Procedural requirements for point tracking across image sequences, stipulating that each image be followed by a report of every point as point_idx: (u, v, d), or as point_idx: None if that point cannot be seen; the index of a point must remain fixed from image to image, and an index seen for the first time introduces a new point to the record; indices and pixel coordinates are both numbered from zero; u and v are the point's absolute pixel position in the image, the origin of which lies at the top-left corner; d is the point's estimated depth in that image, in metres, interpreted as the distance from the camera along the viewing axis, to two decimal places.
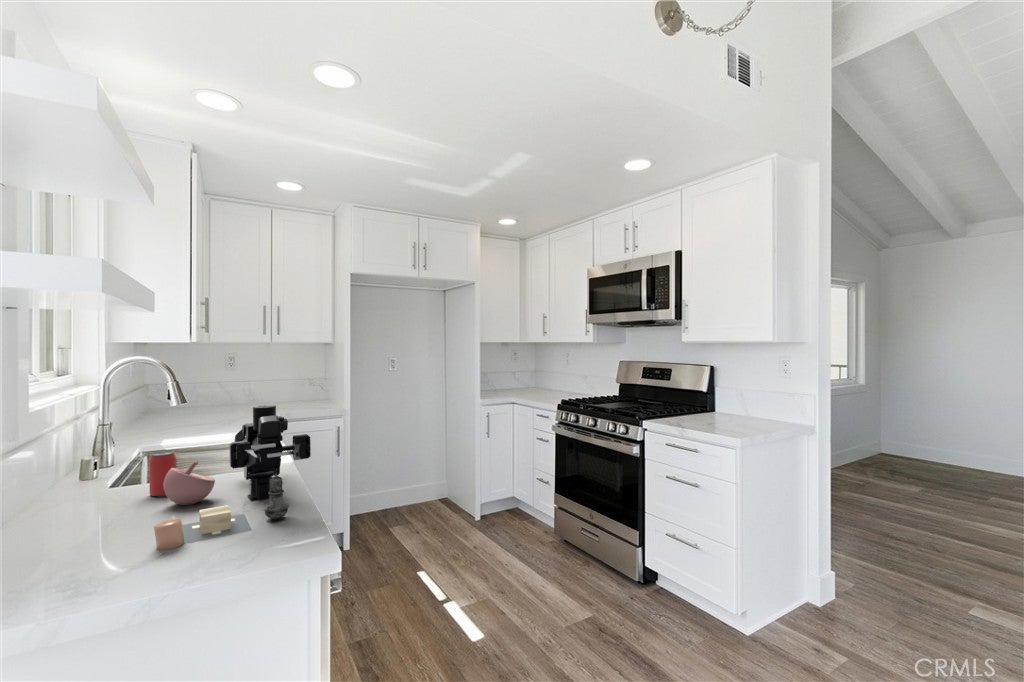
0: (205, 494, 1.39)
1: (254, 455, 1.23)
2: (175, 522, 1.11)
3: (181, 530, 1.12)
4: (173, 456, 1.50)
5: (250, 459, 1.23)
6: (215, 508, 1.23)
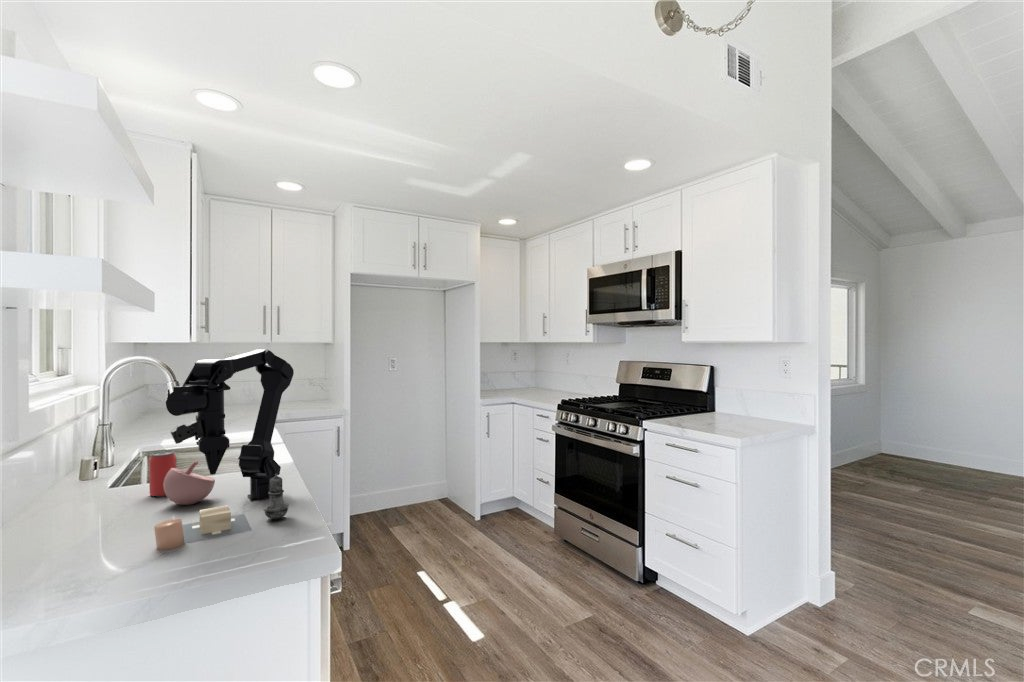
0: (205, 494, 1.39)
1: None
2: (176, 523, 1.11)
3: (181, 530, 1.12)
4: (173, 456, 1.50)
5: None
6: (215, 508, 1.23)
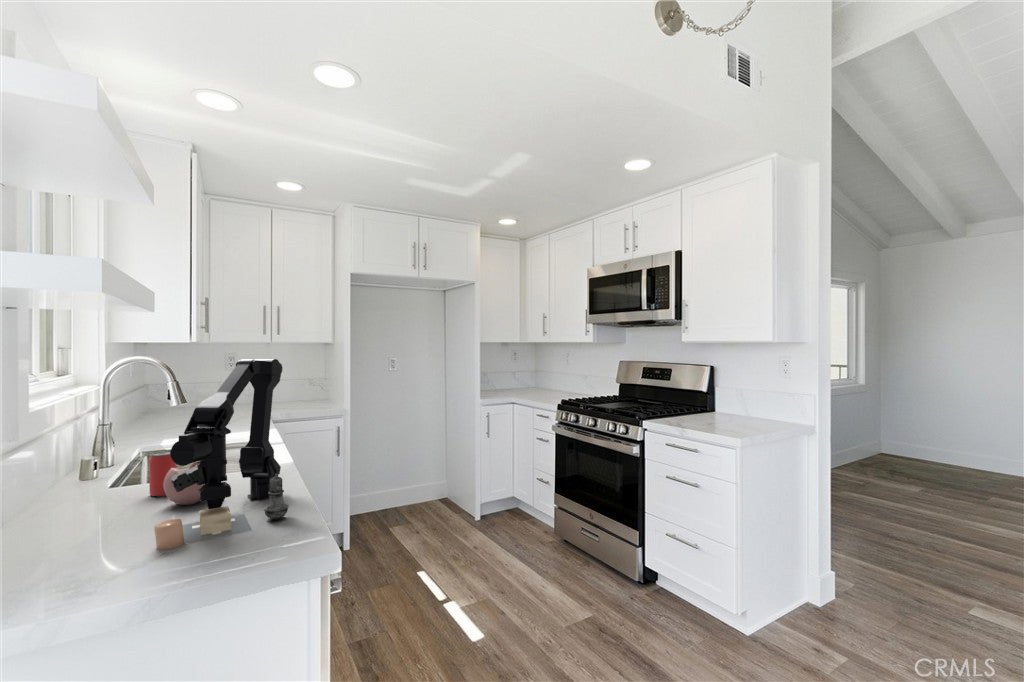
0: None
1: None
2: (176, 523, 1.11)
3: (181, 530, 1.12)
4: None
5: None
6: (215, 509, 1.23)
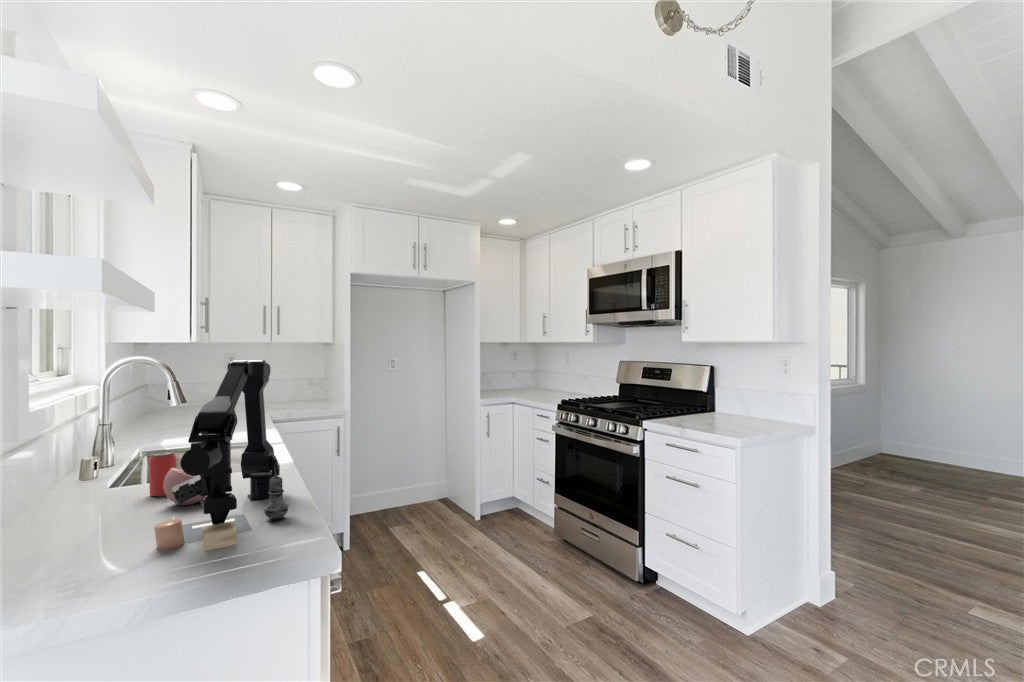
0: None
1: None
2: (176, 523, 1.11)
3: (181, 530, 1.12)
4: (173, 456, 1.50)
5: None
6: (219, 525, 1.14)
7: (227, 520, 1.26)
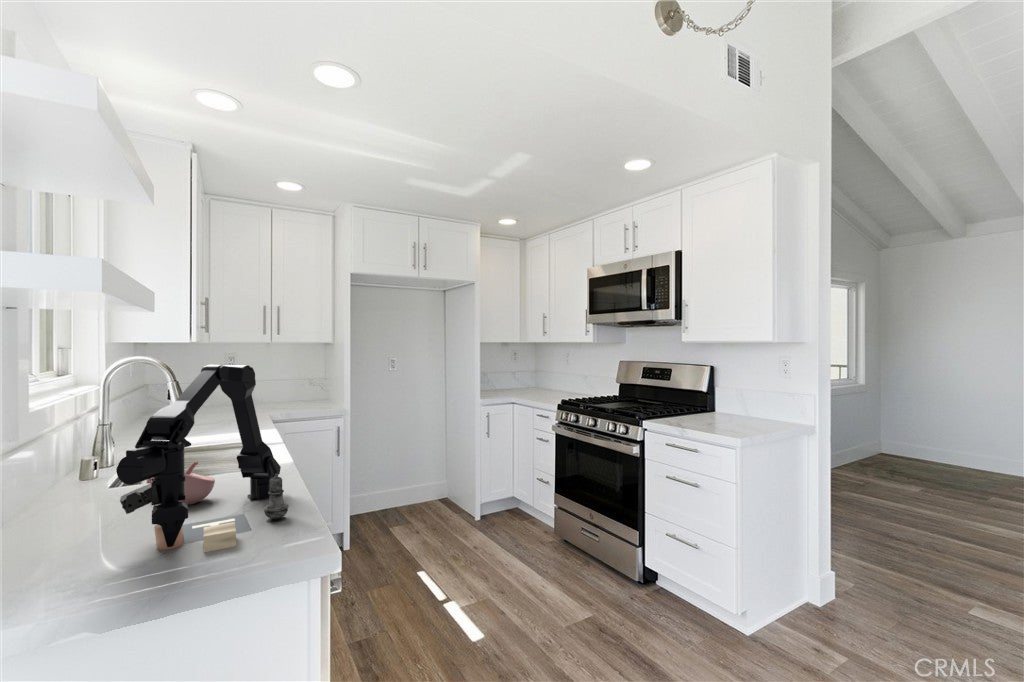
0: (205, 494, 1.39)
1: None
2: None
3: (181, 530, 1.12)
4: None
5: None
6: (220, 525, 1.14)
7: (227, 520, 1.26)
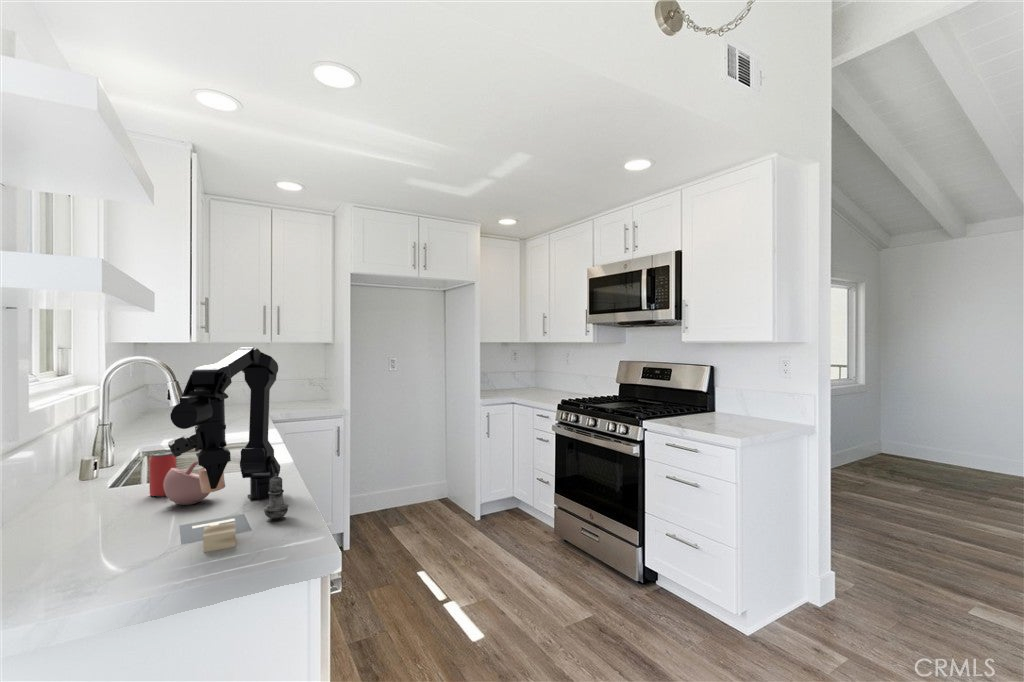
0: (205, 494, 1.39)
1: None
2: None
3: (222, 475, 1.21)
4: (173, 456, 1.50)
5: None
6: (221, 525, 1.14)
7: (227, 520, 1.26)
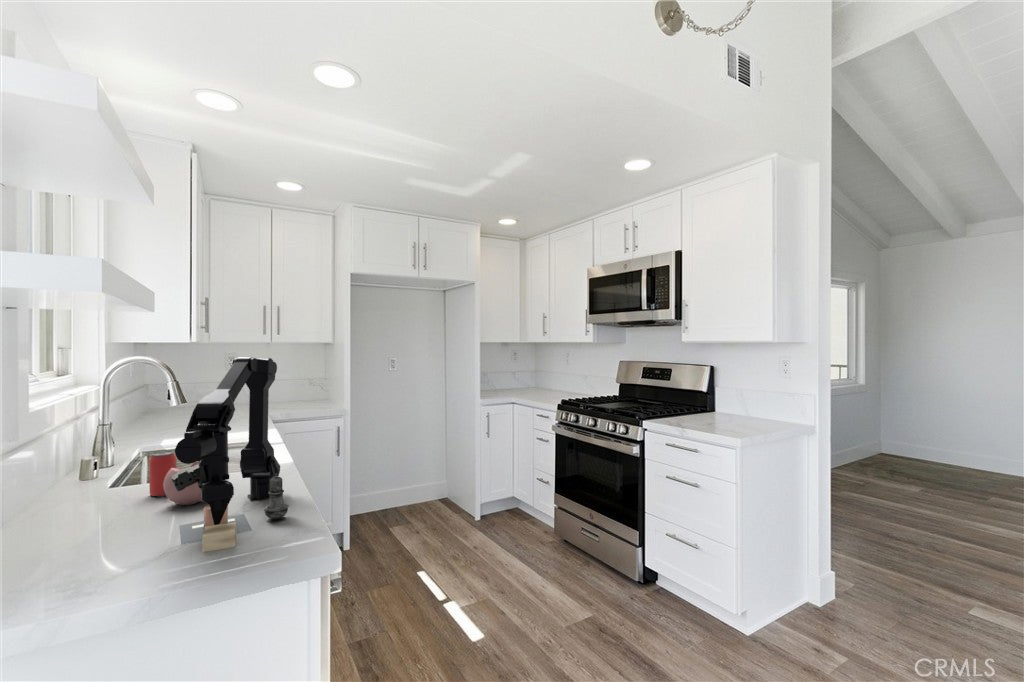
0: None
1: None
2: None
3: (227, 514, 1.22)
4: (173, 456, 1.50)
5: None
6: (221, 525, 1.14)
7: None
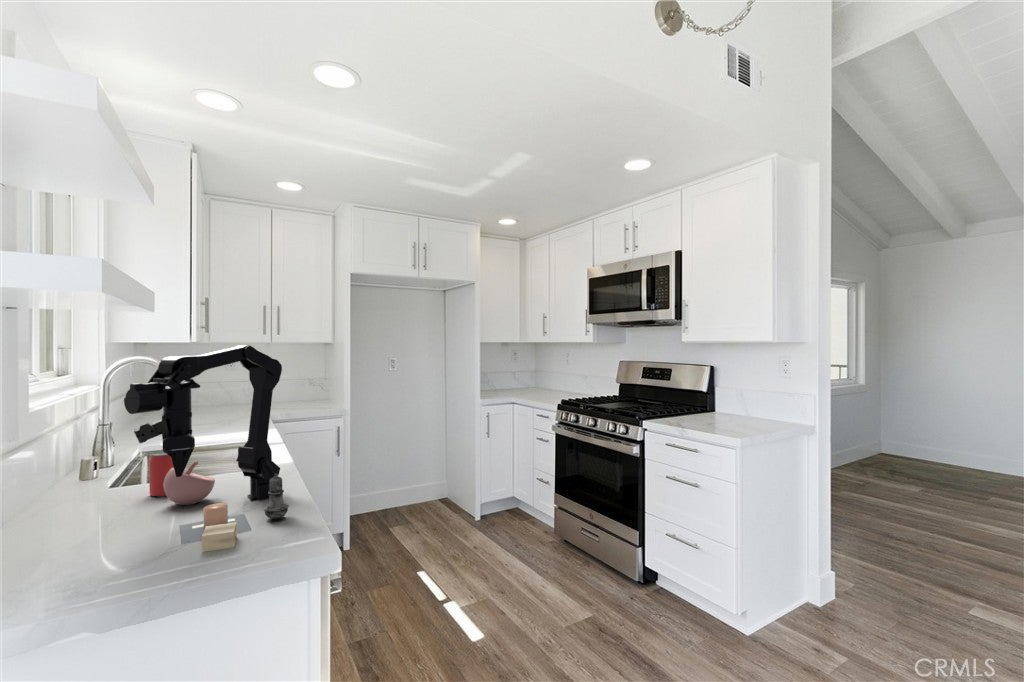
0: (205, 494, 1.40)
1: None
2: (223, 506, 1.22)
3: (227, 514, 1.22)
4: None
5: None
6: (222, 525, 1.14)
7: None
